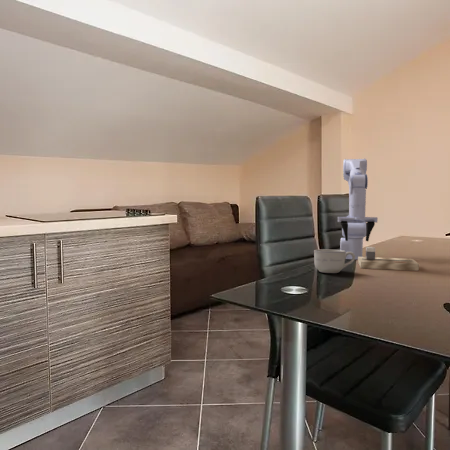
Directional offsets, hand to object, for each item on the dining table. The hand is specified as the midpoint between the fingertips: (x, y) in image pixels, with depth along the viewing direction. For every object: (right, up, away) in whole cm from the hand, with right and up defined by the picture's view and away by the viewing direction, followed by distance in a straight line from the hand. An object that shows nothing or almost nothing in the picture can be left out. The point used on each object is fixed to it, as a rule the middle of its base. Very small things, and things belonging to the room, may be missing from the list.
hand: (356, 240), depth 156 cm
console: (+11, -10, -3) cm, 15 cm away
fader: (+5, -7, -1) cm, 8 cm away
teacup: (-13, -11, -14) cm, 22 cm away
